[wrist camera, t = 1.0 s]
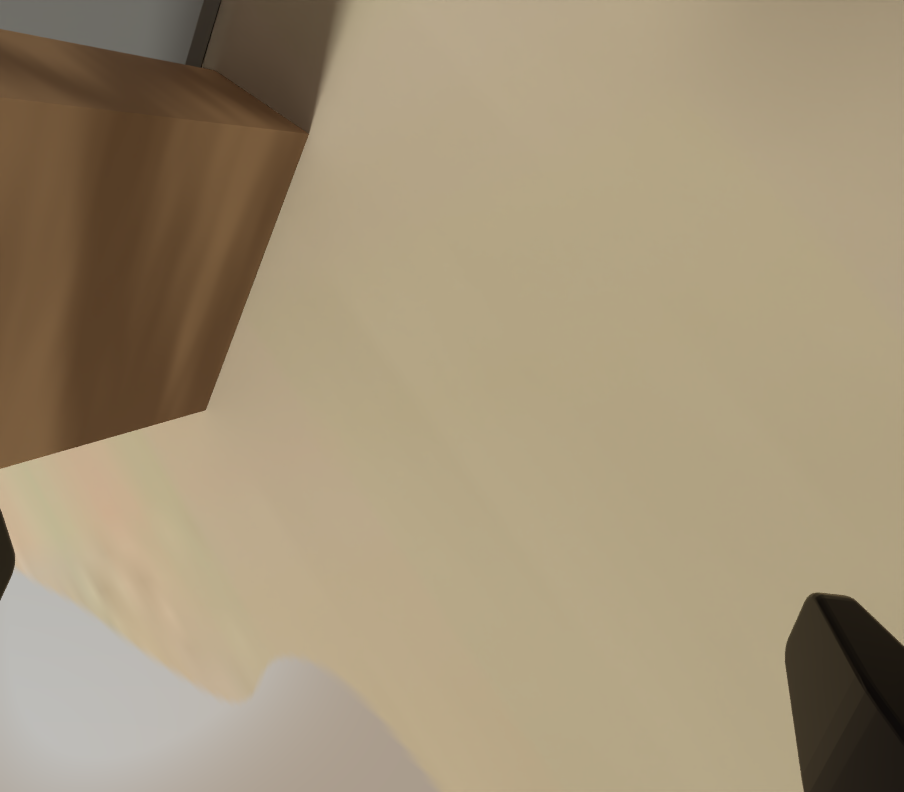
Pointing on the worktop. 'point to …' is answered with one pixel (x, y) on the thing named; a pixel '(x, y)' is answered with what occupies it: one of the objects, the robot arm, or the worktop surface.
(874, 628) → the robot arm
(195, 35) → the mat
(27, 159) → the walnut slab
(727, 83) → the worktop surface
